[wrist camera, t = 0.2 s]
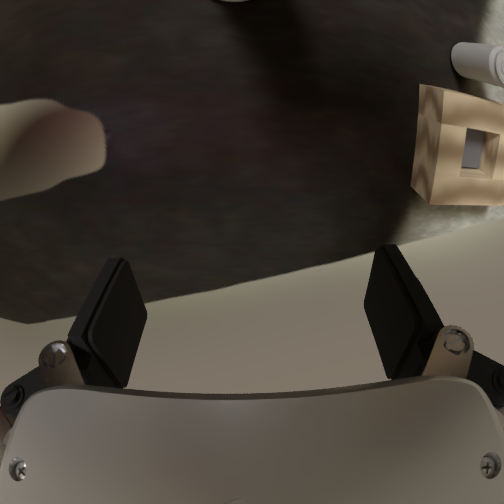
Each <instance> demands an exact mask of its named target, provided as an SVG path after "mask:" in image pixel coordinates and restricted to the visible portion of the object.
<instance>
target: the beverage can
mask: <svg viewBox="0 0 504 504" xmlns="http://www.w3.org/2000/svg"><path fill="white" fill-rule="evenodd" d="M451 60H452V64H453V66H454V68H455V70H456V71H457V72H458V73H459V74H460V75H461V76H463V77H465V78H469V79H473V80H477V81H481V82H485V83H488V84H492V85H496V86H499V87H502V88H504V47H502V46H495V45H487V44H477V43H464V42H461V43H458V44H456V45H455V46H454V47H453V49H452V53H451Z"/></svg>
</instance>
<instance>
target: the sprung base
mask: <svg viewBox="0 0 504 504" xmlns="http://www.w3.org/2000/svg"><path fill="white" fill-rule="evenodd" d="M484 132H485V131H482V130H477V129H471V128H467V130H466V138H465V145H464V152H463V158H462V164H461V167H470V168H479V164H480V158H481V152H482V146H483V139H484Z"/></svg>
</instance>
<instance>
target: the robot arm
mask: <svg viewBox="0 0 504 504" xmlns="http://www.w3.org/2000/svg"><path fill="white" fill-rule="evenodd" d="M221 1H226V2H243V1H248V0H221ZM364 309H365V312H366V315H367V318H368V321H369V324H370V327H371V330H372V333H373V336H374V339H375V342H376V345H377V347H378V350H379V354H380V357H381V360H382V363H383V367H384V370H385V373H386V376H387V378H388V379H390V378H391V380H389V381H383V382H376V383H369V384H361V385H353V386H346V387H337V388H329V389H318V390H307V391H293V392H277V393H253V394H200V393H199V394H198V393H173V392H157V391H144V390H133V389H123V387H124V388H125V387H126V386H127V384H128V381H129V377H130V373H131V370H132V366H133V363H134V359H135V356H136V353H137V349H138V346H139V342H140V339H141V336H142V332H143V330H144V326H145V323H146V320H147V311H146V308H145V305H144V303H143V300H142V297H141V295H140V292H139V289H138V287H137V284H136V281H135V279H134V276H133V273H132V270H131V267H130V264H129V262H128V261H125V260H124V258H109V259H108V260H107V262H106V263H105V265H104V267H103V269H102V270H101V272H100V274H99V276H98V277H97V279H96V281H95V283H94V285H93V286H92V288H91V290H90V292H89V294H88V296H87V298H86V300H85V301H84V303H83V305H82V307H81V309H80V311H79V313H78V315H77V317H76V319H75V321H74V323H73V325H72V327H71V329H70V331H69V333H68V339H67V341H66V342H65V341H62V340H56V341H53V342H50V343H49V344H47V345H46V346H45V347H44V348H43V349H42V351H41V353H40V354H39V358H38V364H39V366H38V367H37V368H35V369H33V370H32V371H30V372H29V373H27V374H25V375H24V376H22V377H21V378H19V379H17V380H16V381H14V382H13V383H11V384H10V385H8V386H7V387H6V388H5V390H4V391H3V393H2V395H1V401H0V402H1V406H0V504H504V366H503V365H501V364H499V363H497V362H496V361H494V360H491V359H490V358H488V357H486V356H484V355H482V354H480V353H478V352H476V351H474V342H473V339H472V337H471V336H470V334H469V333H468V332H467V331H466V330H464V329H462V328H461V327H458V326H453V325H449V326H445V327H444V325H443V323H442V321H441V319H440V317H439V315H438V313H437V312H436V310H435V308H434V306H433V304H432V302H431V301H430V299H429V297H428V295H427V293H426V292H425V290H424V288H423V286H422V285H421V283H420V281H419V280H418V279H417V278H416V276H415V275H414V273H413V271H412V270H411V268H410V266H409V265H408V263H407V261H406V260H405V258H404V257H403V255H402V253H401V252H400V250H399V249H398V247H397V246H396V245H395V244H387V245H381V246H380V247H379V249H376V250H375V254H374V259H373V264H372V269H371V273H370V278H369V283H368V287H367V291H366V295H365V299H364Z"/></svg>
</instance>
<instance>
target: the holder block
mask: <svg viewBox="0 0 504 504" xmlns="http://www.w3.org/2000/svg"><path fill="white" fill-rule="evenodd" d="M467 128H471V129H477V130H482V131H485V132H484V139H483V146H482V152H481V158H480V164H479V168H470V167H461V164H462V158H463V152H464V145H465V138H466V130H467ZM410 186H411V187H412V188H413V189H414V190H415V191H416V192H417V193H418V194H419V195H420V196H421V197H422V198H423V199H424V200H425V201H426V202H427V203H428V204H429V205H487V206H503V205H504V104H502V103H499V102H496V101H493V100H489V99H486V98H482V97H478V96H474V95H471V94H466V93H462V92H458V91H454V90H449V89H444V88H439V87H434V86H429V85H423V84H420V90H419V110H418V125H417V136H416V146H415V155H414V163H413V171H412V178H411V185H410Z"/></svg>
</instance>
